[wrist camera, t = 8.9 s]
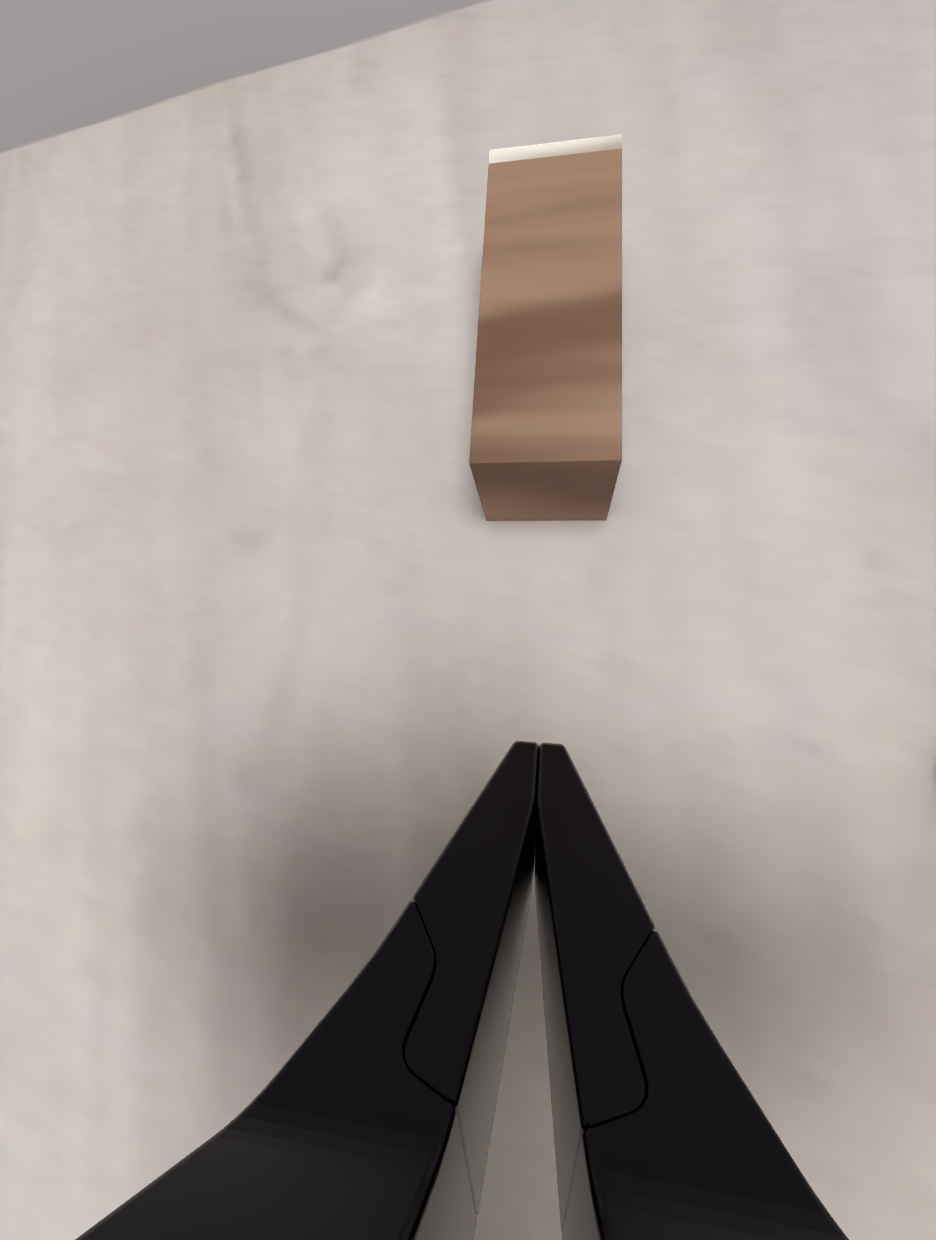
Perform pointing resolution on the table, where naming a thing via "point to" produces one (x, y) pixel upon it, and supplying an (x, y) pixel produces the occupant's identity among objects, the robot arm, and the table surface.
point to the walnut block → (550, 333)
